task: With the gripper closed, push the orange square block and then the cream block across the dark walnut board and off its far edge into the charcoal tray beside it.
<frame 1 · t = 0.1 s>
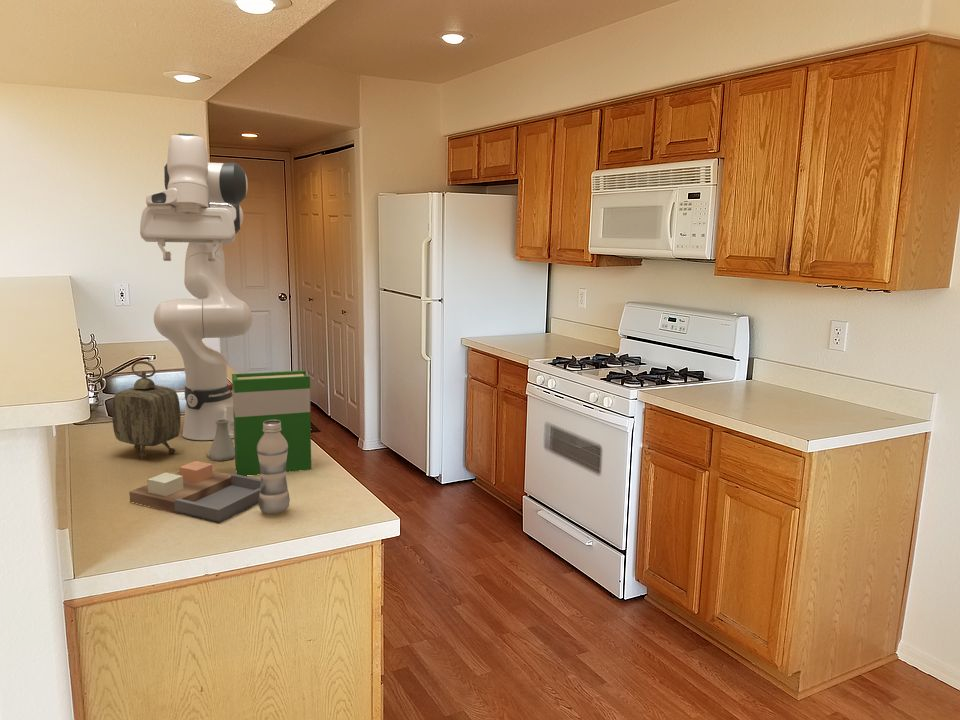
hand: (189, 260, 166), 52 cm above the counter, tool tilted 20°, fingers open, 8 cm apart
tabletop clock: (147, 456, 191), on the counter
flask: (223, 457, 192), on the counter
plastic bottle: (274, 512, 157), on the counter
hardback book: (273, 469, 184), on the counter
walnut board: (184, 493, 166), on the counter
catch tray: (227, 503, 161), on the counter
cream block: (166, 490, 161), point 2 cm above the counter, touching walnut board
orange square block: (196, 478, 169), point 2 cm above the counter, touching walnut board
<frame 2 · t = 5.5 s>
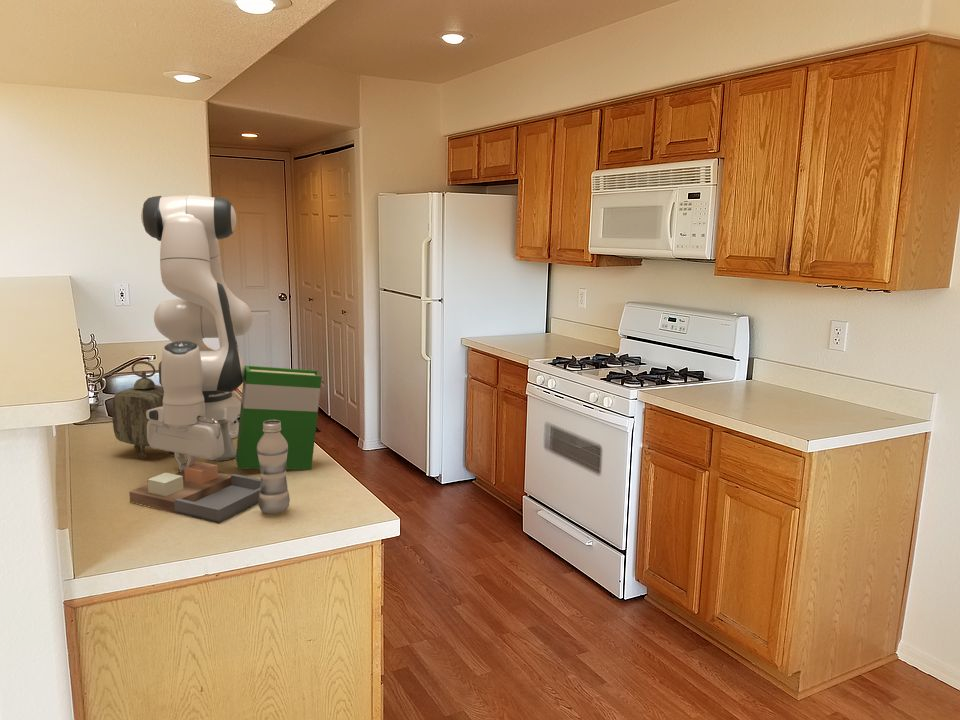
hand: (187, 471, 169), 4 cm above the counter, tool pointing down, fingers closed
hardback book: (273, 465, 184), point 1 cm above the counter
orange square block: (201, 479, 168), point 3 cm above the counter
everything else where it was.
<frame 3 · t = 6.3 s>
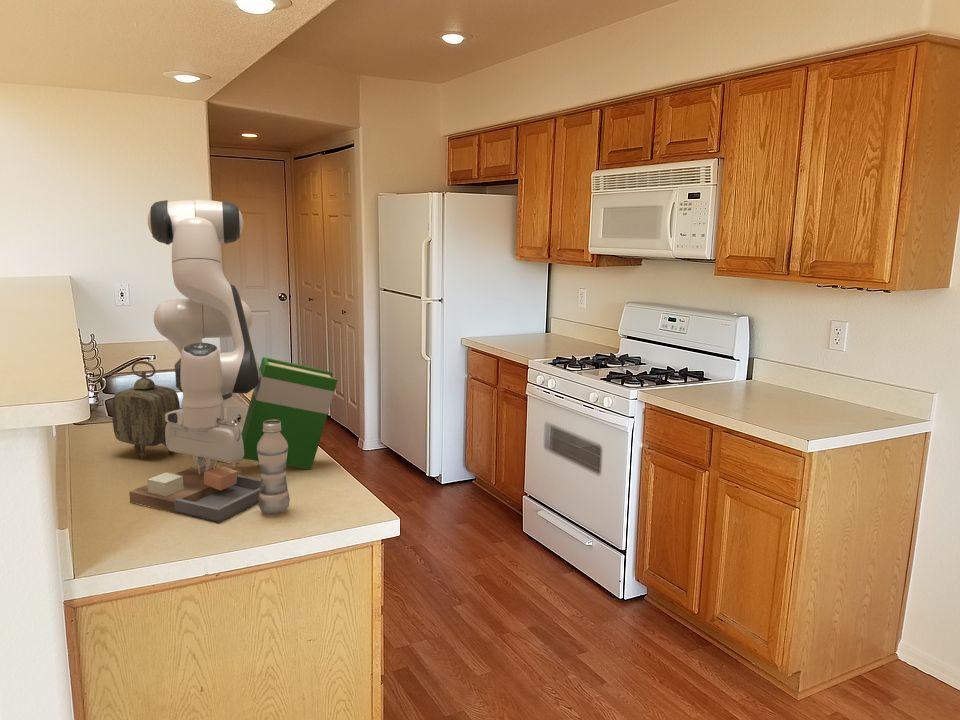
hand: (206, 475, 167), 4 cm above the counter, tool pointing down, fingers closed
hardback book: (274, 459, 184), point 2 cm above the counter, touching arm
orange square block: (220, 483, 166), point 2 cm above the counter, tilted 6°, touching gripper
everything else where it was.
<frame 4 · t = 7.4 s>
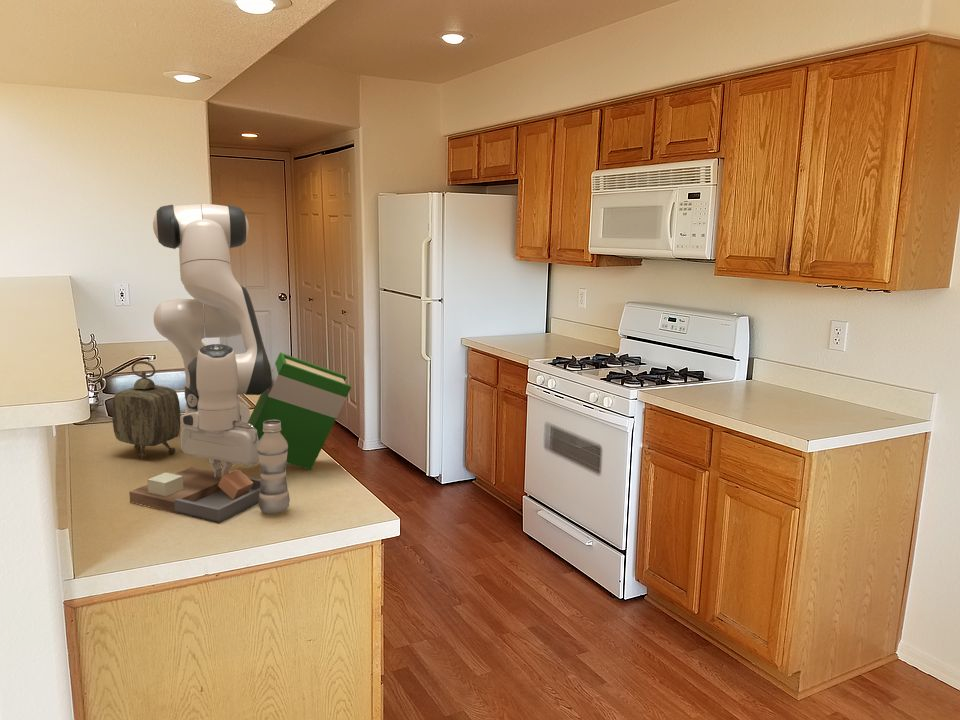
hand: (221, 477, 165), 4 cm above the counter, tool pointing down, fingers closed
hardback book: (276, 453, 183), point 4 cm above the counter, touching arm
orange square block: (233, 489, 165), point 2 cm above the counter, tilted 30°, touching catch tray, gripper
everything else where it was.
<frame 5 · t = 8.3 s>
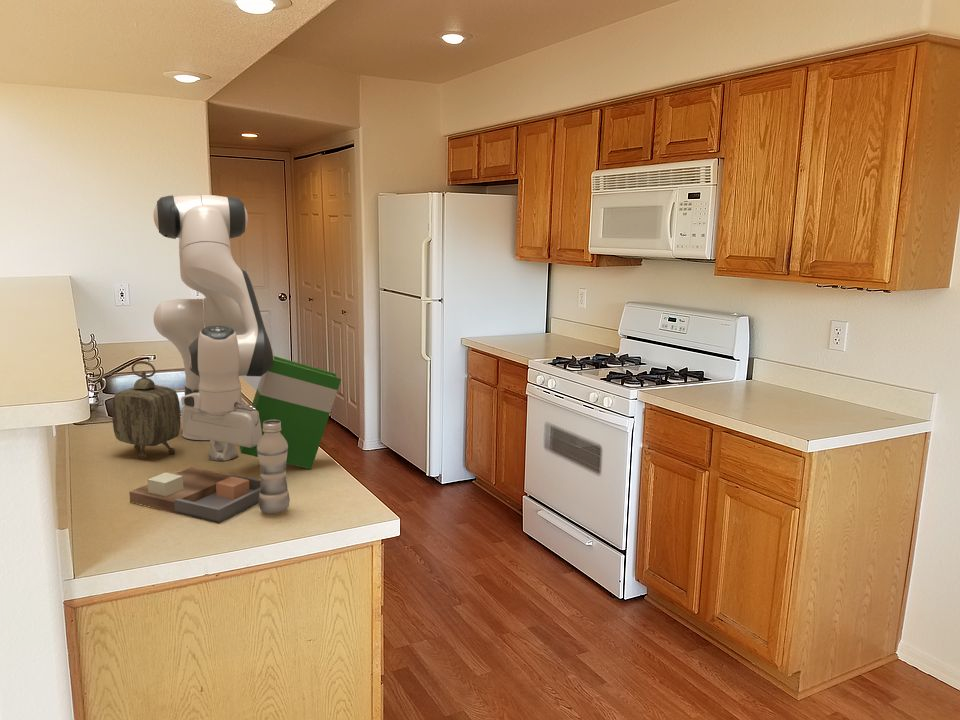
hand: (222, 459, 165), 8 cm above the counter, tool pointing down, fingers closed
hardback book: (274, 457, 184), point 3 cm above the counter
orange square block: (233, 494, 165), point 1 cm above the counter, touching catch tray
everything else where it was.
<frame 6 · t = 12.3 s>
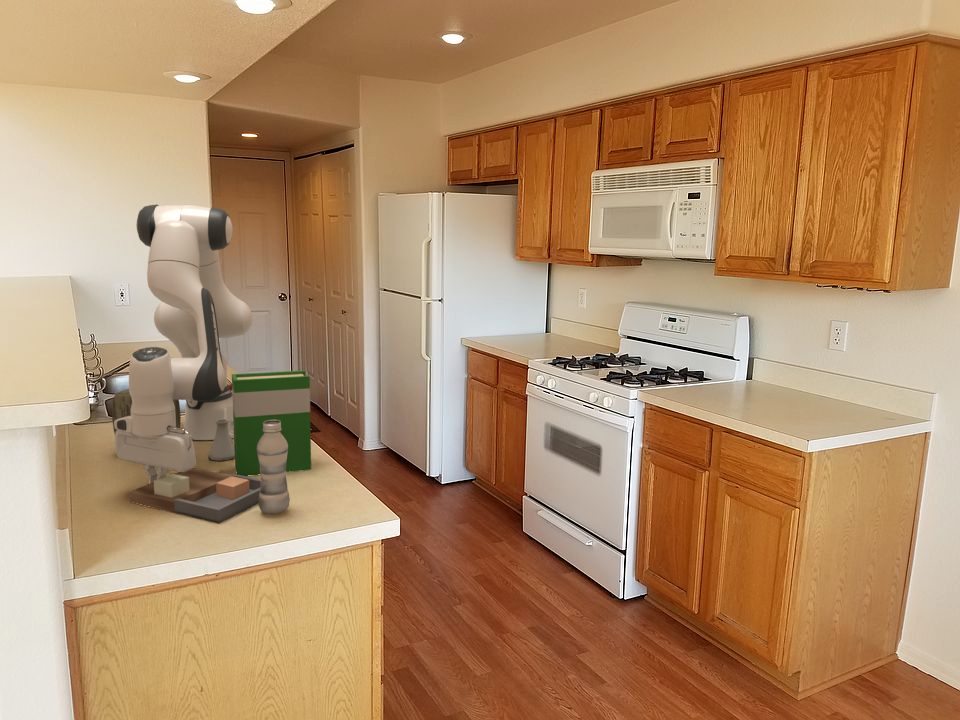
hand: (157, 483, 161), 4 cm above the counter, tool pointing down, fingers closed
hardback book: (273, 469, 184), on the counter
cream block: (172, 491, 160), point 3 cm above the counter, touching gripper
everything else where it was.
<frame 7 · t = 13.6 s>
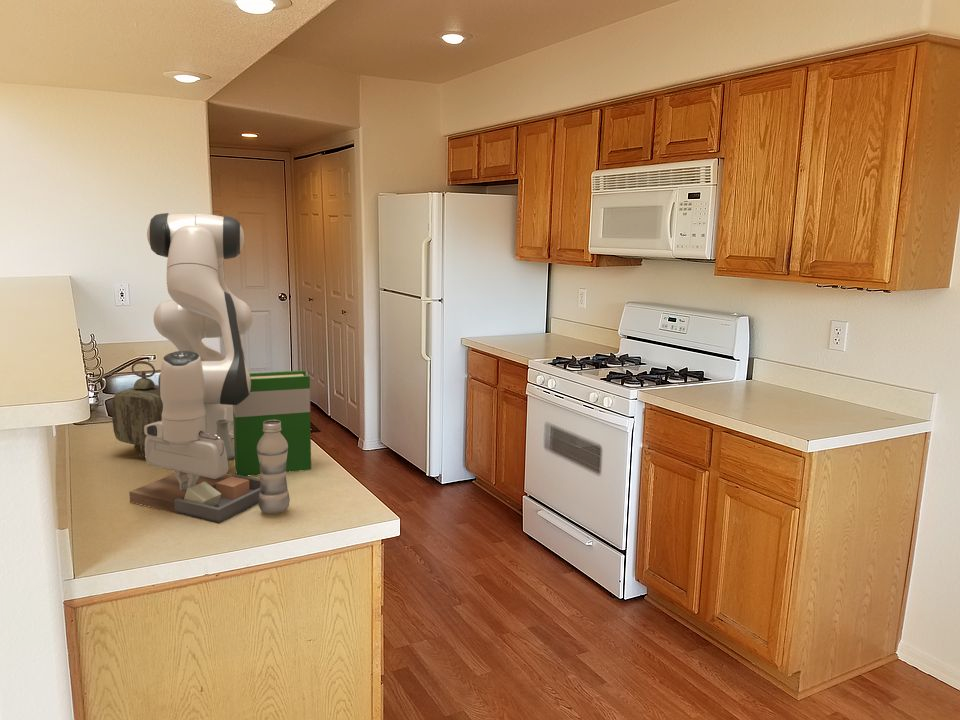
hand: (188, 490, 158), 4 cm above the counter, tool pointing down, fingers closed
cream block: (200, 502, 157), point 2 cm above the counter, tilted 23°, touching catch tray, gripper
everything else where it was.
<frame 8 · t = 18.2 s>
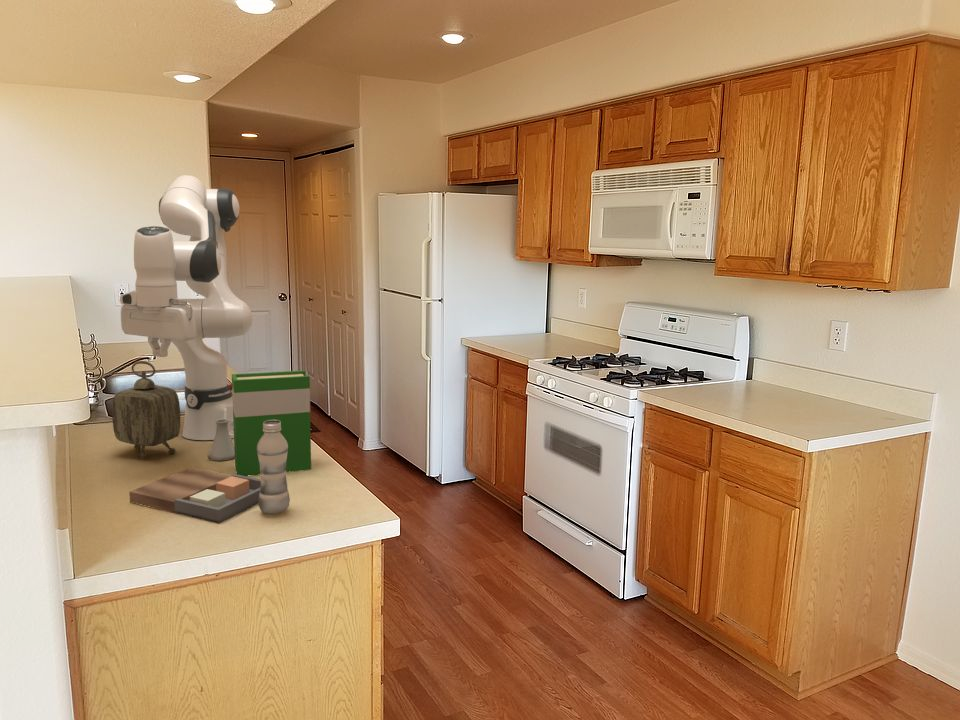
hand: (160, 356, 173), 29 cm above the counter, tool pointing down, fingers closed
cream block: (208, 508, 157), point 1 cm above the counter, touching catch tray
everything else where it was.
at the end: orange square block inside the target area on the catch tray (4.1 cm from its centre), point 0.6 cm above the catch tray's base; cream block inside the target area on the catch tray (4.9 cm from its centre), point 0.6 cm above the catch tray's base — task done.
